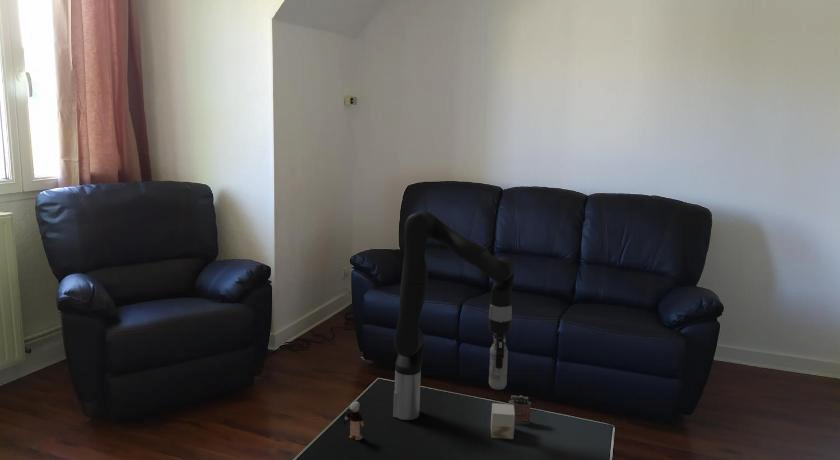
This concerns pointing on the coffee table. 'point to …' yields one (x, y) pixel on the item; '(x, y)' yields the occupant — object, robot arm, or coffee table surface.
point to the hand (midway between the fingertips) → (498, 364)
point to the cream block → (503, 415)
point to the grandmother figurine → (355, 421)
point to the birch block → (501, 431)
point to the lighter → (521, 409)
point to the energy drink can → (498, 370)
